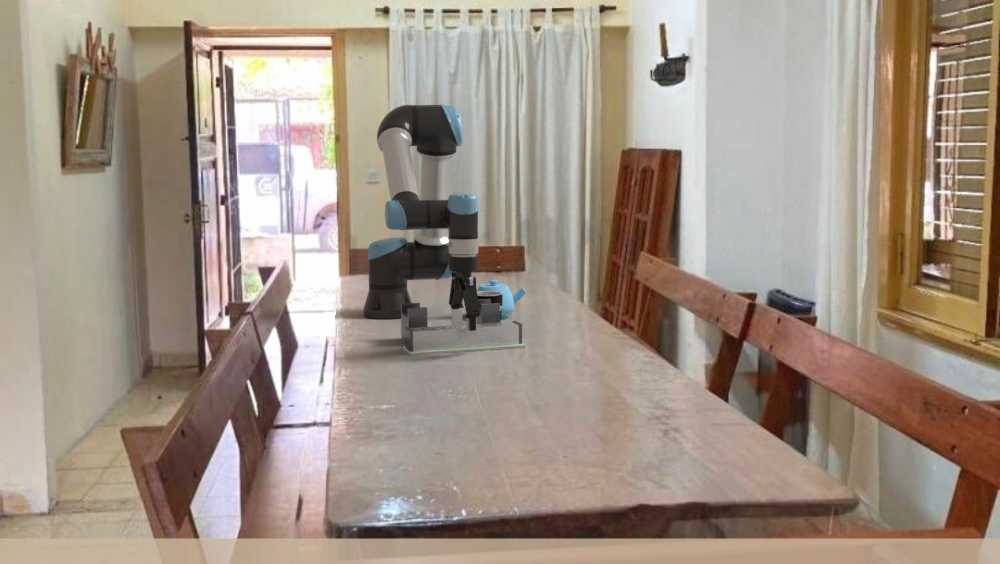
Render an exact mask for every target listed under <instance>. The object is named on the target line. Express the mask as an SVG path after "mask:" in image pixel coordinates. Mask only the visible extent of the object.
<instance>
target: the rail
mask: <svg viewBox="0 0 1000 564" xmlns="http://www.w3.org/2000/svg"><path fill="white" fill-rule="evenodd" d="M404 342H405V343H404V344H405V345H404V346H405V348H406V349H408V350H409V351H410V352H413V351H426V350H440V349H454V348H469V347H483V346H497V345H511V344H523V323H521V322H519V321H518V320H512V321H500V322H499V323H483V324H477V343H469V344H467V343H466V324H462V325H452V324H451V325H439V326H437V325H436V326H427V327H420V328H408V327H406V328H405V341H404Z"/></svg>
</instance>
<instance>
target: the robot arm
mask: <svg viewBox="0 0 1000 564" xmlns="http://www.w3.org/2000/svg"><path fill="white" fill-rule="evenodd" d="M463 133H464V132H463V125H462V119H461V115H460V111H459V109H458V108H457V107H456V106H454V105H445V104H415V105H413V104H403V105H400V106H398V107H395V108H393V109H392V110H391V111H389V112H387V114H386V115H385V116H384V117H383V119H382V120H381V121H380V124H379V126H378V129H377V133H376V141H377V146H378V148H379V151H381V152H382V155H383V161H384V168H385V172H386V173H385V174H386V180H387V184H388V185H387V186H388V191H389V197H390V200H388V201H386V202H385V206H384V219H385V226H386V227H387V229H389V230H396V231H398V230H399V231H407V230H408V231H411V230H419V231H417V232H416V233H415V234H414V237H413V241H408V240H407V238H406V237H404V236H403V237H400V236H399V237H390V238H383V239H379V240H376V241H372V242H371V243H370V244H369V245H368V253H367V260H368V292H367V295H366V299H365V303H364V304H363V305H364V306H363V316H364V317H365V318H369V319H377V320H379V319H380V320H381V319H382V320H386V319H388V320H389V319H391V320H392V319H401V304H407V303H413V302H412V299H411V296H410V294H409V290H408V281H418V280H419V281H421V280H422V281H423V280H425V281H426V280H427V281H428V280H429V281H431V280H437V281H438V280H439V281H440V280H444V279H450V278H451V283H450V290H449V299H448V305H449V306H450V309H451V326H452V325H463V309H465V313H466V314H464V319H465V325H466V343H467V344H469V343H477V317H478V316H480V310H479V303H478V296H477V290H478V288H477V277H476V276H475V277H474V276H472V272H476V271H478V270H479V257H478V253H479V205H478V203H479V202H478V201H479V200H478V196H477V195H476V194H473V193H450V189H451V188H450V187H451V185H450V184H451V167H452V165H451V162H452V158H453V156H455V155H456V154H457V147H458V148H459V147H460V146H462V145H463V140H464V134H463ZM411 147H416V152H417V153H418V155H420V157H421V163H420V164H421V168H420V169H421V170H420V171H421V173H420V193H419V190H418V189H419V188H418V184H417V180H416V174H415V169H414V164H413V159H412V154H411V153H412V152H411V149H410V148H411ZM419 194H420V195H419ZM463 302H464V304H463Z"/></svg>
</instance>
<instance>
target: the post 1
mask: <svg viewBox="0 0 1000 564" xmlns="http://www.w3.org/2000/svg"><path fill="white" fill-rule="evenodd" d="M400 324H401V325H400V328H401V329H400V330H401V331H400V332H401V333H400V336H401V340H402V341H404V342H405V328H406V327H408V328H420V327H428V307H427V306H426V307H421V303H420V302H412V303H407V304H401V318H400Z"/></svg>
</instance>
